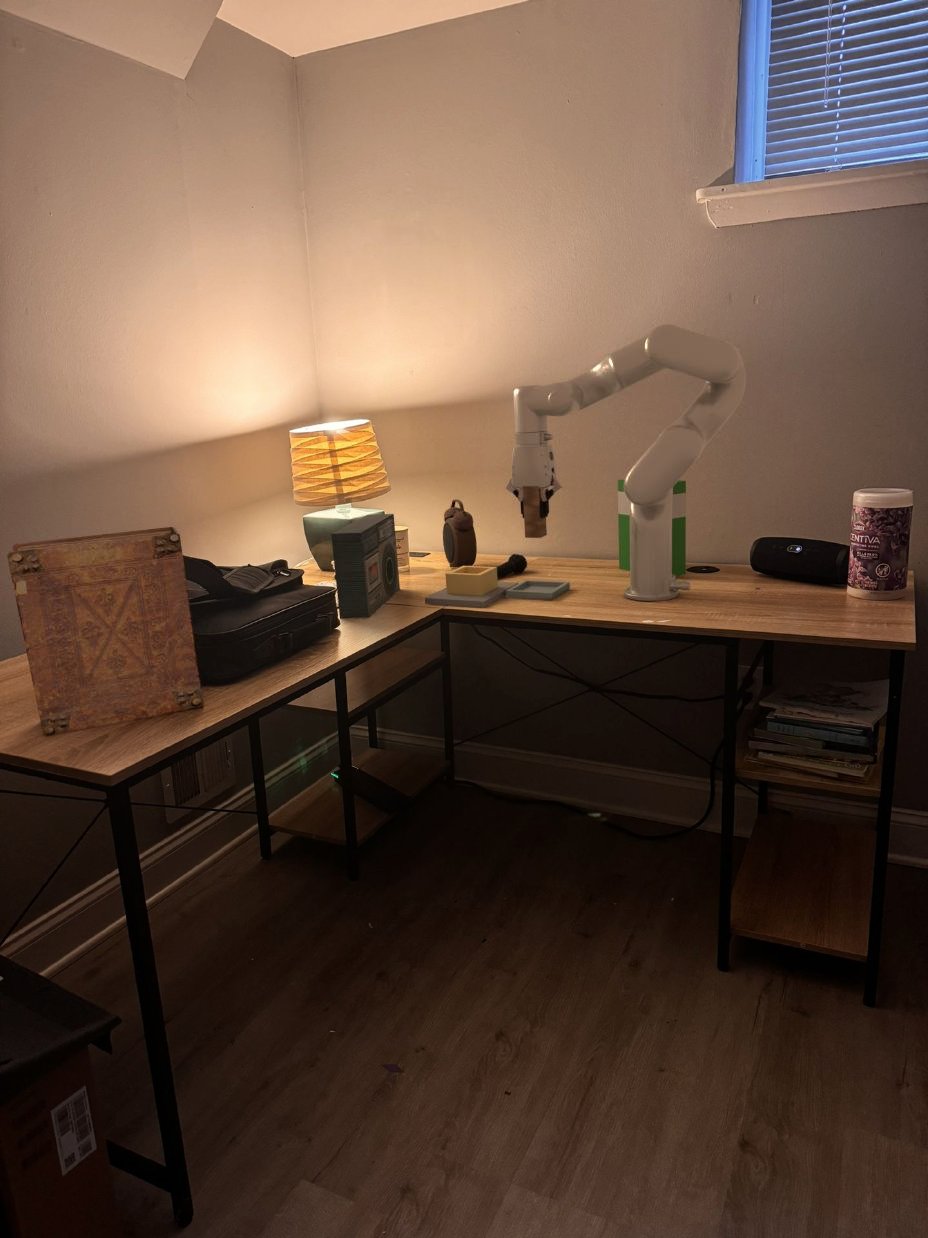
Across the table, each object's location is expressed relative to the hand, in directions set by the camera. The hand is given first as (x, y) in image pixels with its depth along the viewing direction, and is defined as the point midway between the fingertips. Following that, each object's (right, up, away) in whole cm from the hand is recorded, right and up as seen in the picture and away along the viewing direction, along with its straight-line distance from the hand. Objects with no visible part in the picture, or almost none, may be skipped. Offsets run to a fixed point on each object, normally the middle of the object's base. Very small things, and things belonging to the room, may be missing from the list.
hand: (535, 516), depth 207 cm
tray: (+1, -18, +5) cm, 19 cm away
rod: (0, -5, +1) cm, 5 cm away
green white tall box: (+33, -12, +21) cm, 41 cm away
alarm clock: (-18, -11, +39) cm, 44 cm away
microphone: (-8, -14, +26) cm, 31 cm away
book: (-75, -41, -60) cm, 104 cm away
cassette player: (-40, -21, +7) cm, 46 cm away
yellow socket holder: (-15, -19, +7) cm, 25 cm away
